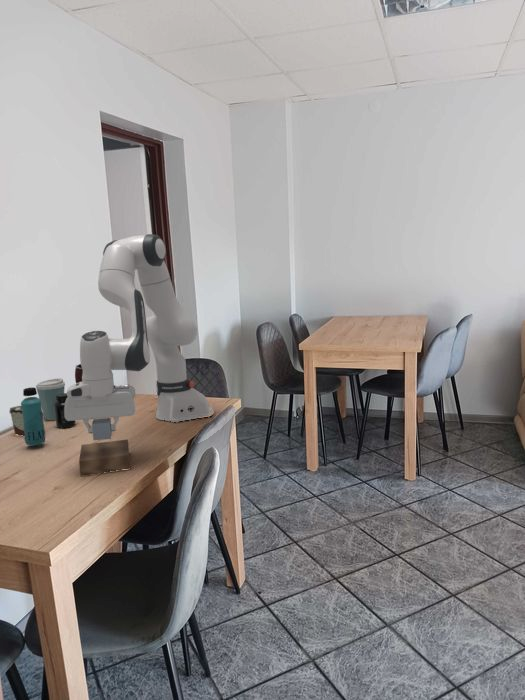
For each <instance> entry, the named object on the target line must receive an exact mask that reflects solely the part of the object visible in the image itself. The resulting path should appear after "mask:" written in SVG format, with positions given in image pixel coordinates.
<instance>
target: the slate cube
mask: <svg viewBox="0 0 525 700" xmlns="http://www.w3.org/2000/svg"><path fill="white" fill-rule="evenodd" d="M111 424H112V417H108V418H96V419H92V423H91V426H92V431H93V433H92V440H93V441H102V440H111V439H112V436H113V431H111V428H110V425H111Z"/></svg>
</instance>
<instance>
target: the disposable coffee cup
mask: <svg viewBox="0 0 525 700" xmlns="http://www.w3.org/2000/svg"><path fill="white" fill-rule="evenodd" d="M65 383H66V382H65V381H64V379H63V378H61V377H60V378H51V379H50V378H49V379H47V380H43V381H40V382H38V383H37V384H36V385H35V388H36V392H37V395H38V398H39V399H40V400H41V407H42V411H43V413H42V415H43V418H45V420H46V419H47V420H46V421H56V419H55V410H54V404H55V403H56V402H57V401H56V395H58V394H62V393H65V385H66V384H65Z"/></svg>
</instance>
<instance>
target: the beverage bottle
mask: <svg viewBox="0 0 525 700" xmlns="http://www.w3.org/2000/svg"><path fill="white" fill-rule="evenodd" d="M22 392H23V393H22V395H23V397H26V398H23V399H22V401H21V402H20V406H21V407H22V415H23V423H24V429H23V430H24V435H25V437H24V442H25V443H24V444H26V445H27V446H36V445H41V444H44V443H45V441H46V430H45V423H44V414H43V410H42V406H41V400H40V399H39V397H37V396H36V395H38V392H37V388H36V387H26V388H23V391H22Z"/></svg>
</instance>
